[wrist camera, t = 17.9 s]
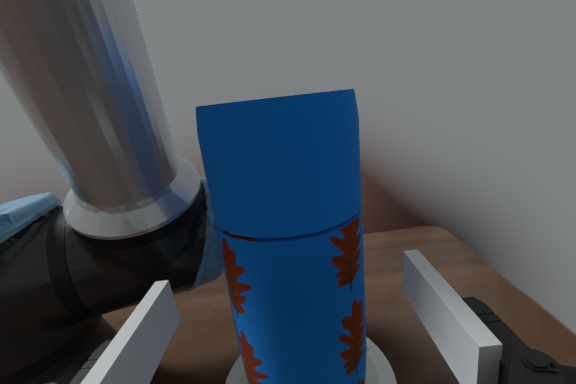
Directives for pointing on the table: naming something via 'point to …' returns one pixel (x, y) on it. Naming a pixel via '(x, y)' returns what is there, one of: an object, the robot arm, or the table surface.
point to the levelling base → (377, 368)
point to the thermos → (290, 233)
